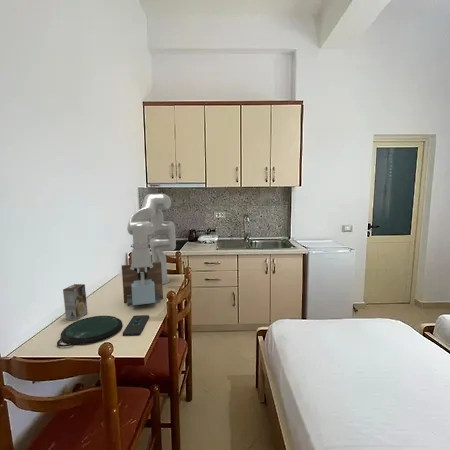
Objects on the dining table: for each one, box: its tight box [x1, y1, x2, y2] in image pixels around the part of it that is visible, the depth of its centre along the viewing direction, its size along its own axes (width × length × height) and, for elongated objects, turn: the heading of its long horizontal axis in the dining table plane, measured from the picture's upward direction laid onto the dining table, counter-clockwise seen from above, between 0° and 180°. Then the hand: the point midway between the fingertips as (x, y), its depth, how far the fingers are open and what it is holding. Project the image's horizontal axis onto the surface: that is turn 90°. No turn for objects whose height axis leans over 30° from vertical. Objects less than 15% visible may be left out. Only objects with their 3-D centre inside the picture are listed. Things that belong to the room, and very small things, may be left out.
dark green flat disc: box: [56, 315, 123, 348], centre depth 143 cm, size 26×3×30 cm
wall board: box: [121, 262, 164, 307], centre depth 178 cm, size 7×22×22 cm, turn 106°
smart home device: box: [121, 314, 150, 337], centre depth 148 cm, size 8×2×20 cm
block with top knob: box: [131, 272, 156, 306], centre depth 174 cm, size 12×12×16 cm
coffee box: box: [62, 283, 88, 321], centre depth 161 cm, size 9×6×16 cm
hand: (142, 279), depth 170 cm, fingers closed on block with top knob
